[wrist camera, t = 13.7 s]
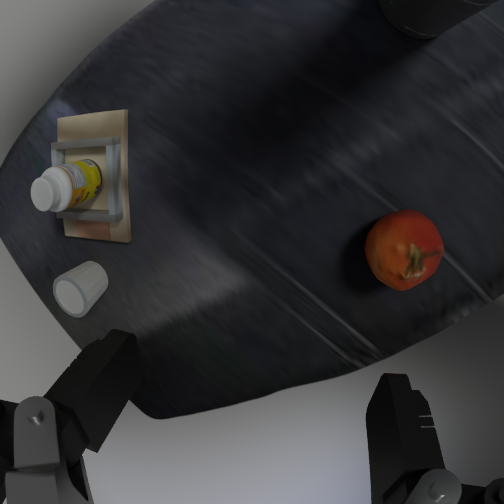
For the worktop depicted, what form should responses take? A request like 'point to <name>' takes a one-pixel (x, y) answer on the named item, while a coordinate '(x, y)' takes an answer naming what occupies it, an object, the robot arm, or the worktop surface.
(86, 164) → the supplement bottle
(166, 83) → the worktop surface
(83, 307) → the shot glass
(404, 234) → the tomato
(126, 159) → the holder
